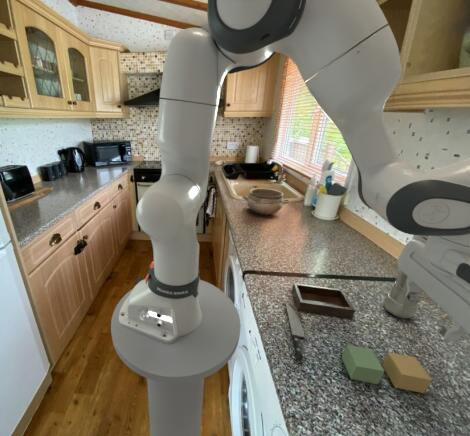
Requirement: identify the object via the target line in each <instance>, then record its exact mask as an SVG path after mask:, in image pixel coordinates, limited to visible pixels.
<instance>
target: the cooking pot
mask: <svg viewBox="0 0 470 436" xmlns="http://www.w3.org/2000/svg"><path fill="white" fill-rule="evenodd" d="M283 196H284V192H282V191H281V190H278V189H275V188H271V187H253V188H250V189H249V194H248V196H245V195H242V196H241V198H242V199H243V200H244V201H246V204H247V206H248V208H250V209H251V211H253V212H255V213H256V214H258V215H260V216H269V215H271V214H272V215H273V214H276V213H277V212H279V211H280V210H281V209H282V208H283V206H284V205H285V204H288V203H290V201H291V200H290V199H289V198H288V199H284V198H283Z"/></svg>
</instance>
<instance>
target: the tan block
mask: <svg viewBox="0 0 470 436" xmlns="http://www.w3.org/2000/svg"><path fill="white" fill-rule="evenodd" d="M381 366H382V368H383V369H384V371H385V373H386V374H387V377H388V378H389V380H390V381H391V383H392V386H393V387H394V388H395V389H400V390H405V391H410V392H416V393H421V394H425V392H426V390H427V389H428V388H429V386H430V385H431V382H432V381H433V380H432V378H431V376H430V375H429V374H428V373H427V371H426V370H425V368H424V367H423V366H422V364H421V362H419V361H418V359H417V357H415V356H412V355H406V354H401V353H400V354H399V353H395V352H387V353H386V356H385V357H384V359H383V361H382V363H381Z"/></svg>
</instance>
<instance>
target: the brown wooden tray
mask: <svg viewBox="0 0 470 436" xmlns="http://www.w3.org/2000/svg"><path fill="white" fill-rule="evenodd" d="M291 293H292V295H293V299H294V302H295V305H296V308H297V311H298V312H304V313H310V314H311V313H312V314H317V315H324V316H331V317H337V318H344V319H350V320H351V319H352V320H353V318H354V315H355V313H356V309H355V307H354V306H353V304H352V303H351V301H350V300H349V298H348V296H347V295H346V293H345V292H344V289H341V288H333V287H326V286H318V285H310V284H303V283H297V282H293V284H292V289H291Z"/></svg>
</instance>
